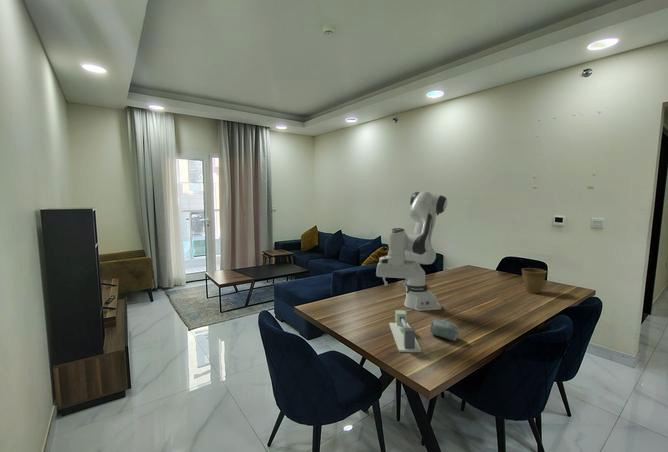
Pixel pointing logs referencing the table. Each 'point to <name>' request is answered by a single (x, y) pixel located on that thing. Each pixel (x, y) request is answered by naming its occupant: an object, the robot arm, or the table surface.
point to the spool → (444, 329)
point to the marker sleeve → (400, 314)
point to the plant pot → (533, 279)
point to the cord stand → (404, 337)
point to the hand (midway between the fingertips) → (395, 285)
